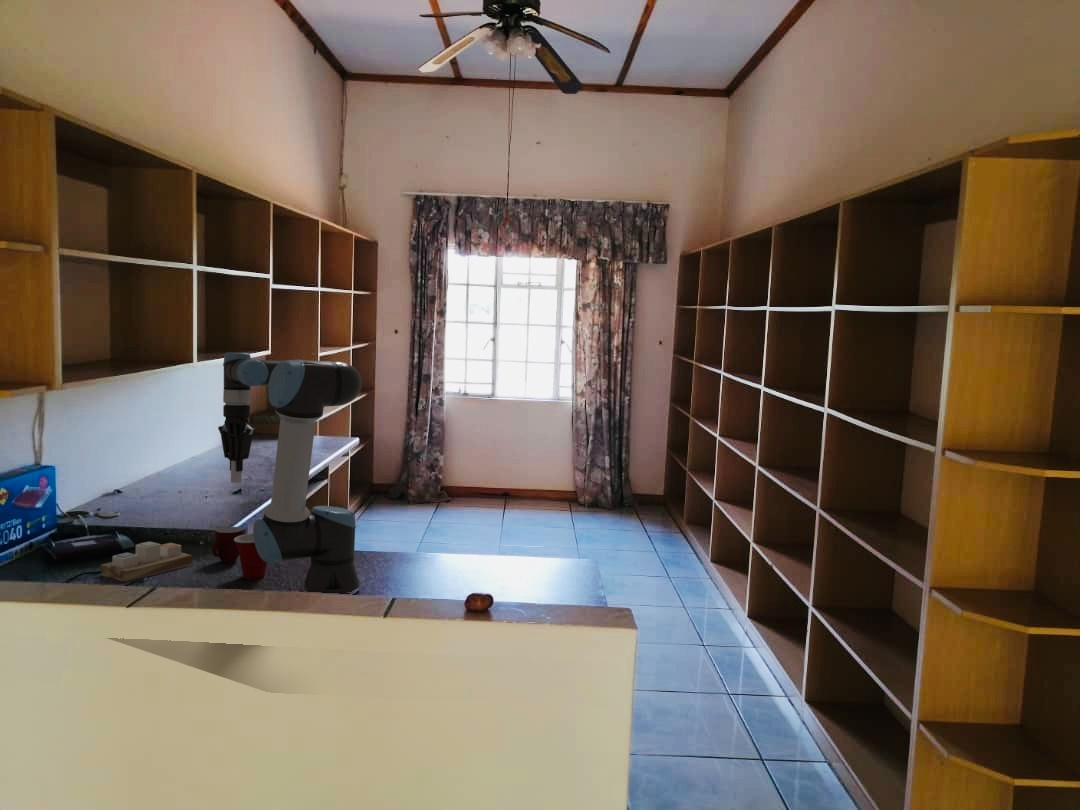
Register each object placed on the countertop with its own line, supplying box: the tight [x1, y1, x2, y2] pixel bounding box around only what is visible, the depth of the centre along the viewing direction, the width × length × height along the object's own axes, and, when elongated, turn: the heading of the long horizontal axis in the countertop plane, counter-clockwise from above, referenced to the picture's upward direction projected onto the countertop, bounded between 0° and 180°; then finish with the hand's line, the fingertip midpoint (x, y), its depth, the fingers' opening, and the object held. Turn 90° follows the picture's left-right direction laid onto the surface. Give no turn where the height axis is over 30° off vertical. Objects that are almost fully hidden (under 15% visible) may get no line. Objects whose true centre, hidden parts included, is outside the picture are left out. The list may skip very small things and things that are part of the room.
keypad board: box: [100, 552, 193, 583], centre depth 223 cm, size 11×21×3 cm, turn 152°
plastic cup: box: [234, 532, 268, 580], centre depth 221 cm, size 11×11×12 cm
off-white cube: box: [111, 552, 138, 569], centre depth 216 cm, size 5×5×5 cm
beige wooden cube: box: [135, 541, 161, 564], centre depth 223 cm, size 5×5×5 cm
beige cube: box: [160, 542, 182, 558], centre depth 229 cm, size 5×5×5 cm
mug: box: [211, 526, 245, 564], centre depth 233 cm, size 11×8×10 cm
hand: (236, 481), depth 231 cm, fingers closed
